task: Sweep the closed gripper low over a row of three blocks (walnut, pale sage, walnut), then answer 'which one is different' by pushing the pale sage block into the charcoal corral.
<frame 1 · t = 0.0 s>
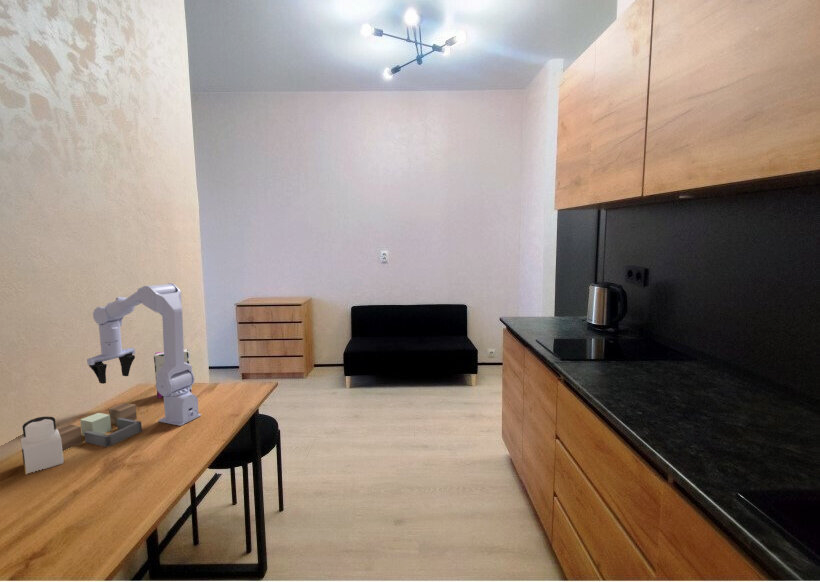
hand: (114, 379, 134), 10 cm above the table, tool pointing down, fingers open, 7 cm apart
walnut block 2: (123, 421, 124), on the table
white handled block: (43, 464, 100), on the table
sage block: (96, 433, 117), on the table
walnut block 1: (66, 446, 109), on the table
candy bar box: (175, 394, 148), on the table
corral: (114, 436, 114), on the table
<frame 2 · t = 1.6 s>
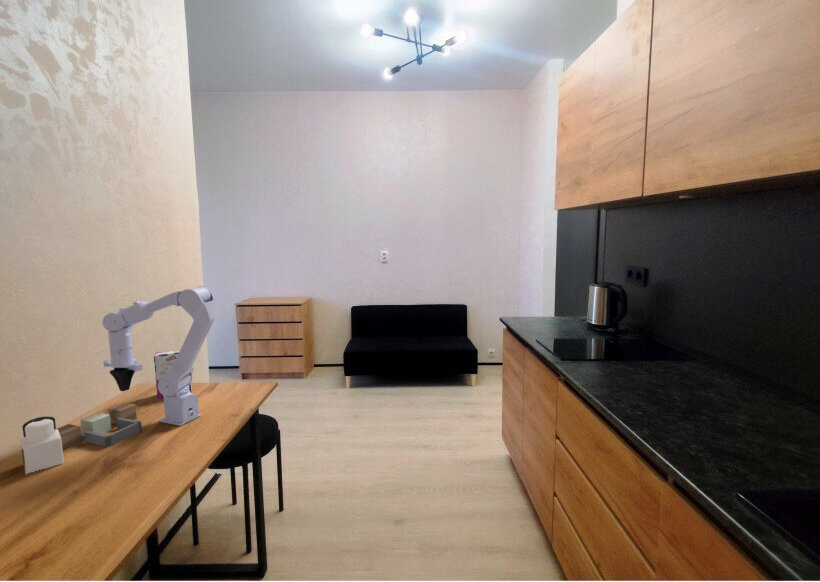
hand: (124, 390, 124), 10 cm above the table, tool pointing down, fingers closed
nothing on the table moved.
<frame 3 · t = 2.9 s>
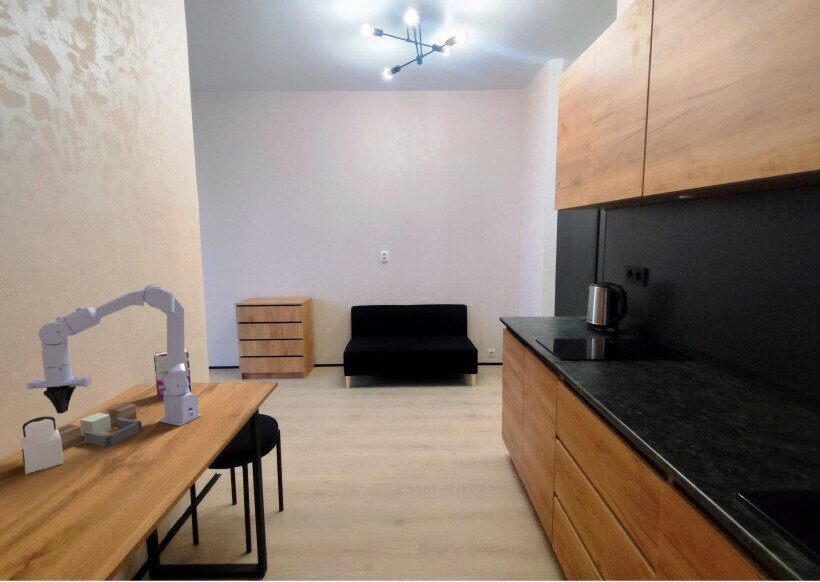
hand: (62, 412, 108), 10 cm above the table, tool pointing down, fingers closed
nothing on the table moved.
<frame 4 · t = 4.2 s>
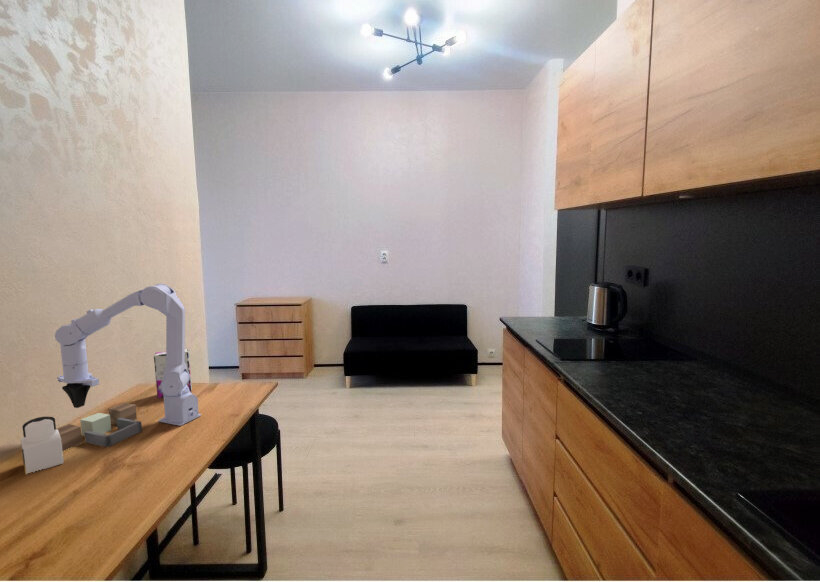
hand: (79, 406, 118), 7 cm above the table, tool pointing down, fingers closed
nothing on the table moved.
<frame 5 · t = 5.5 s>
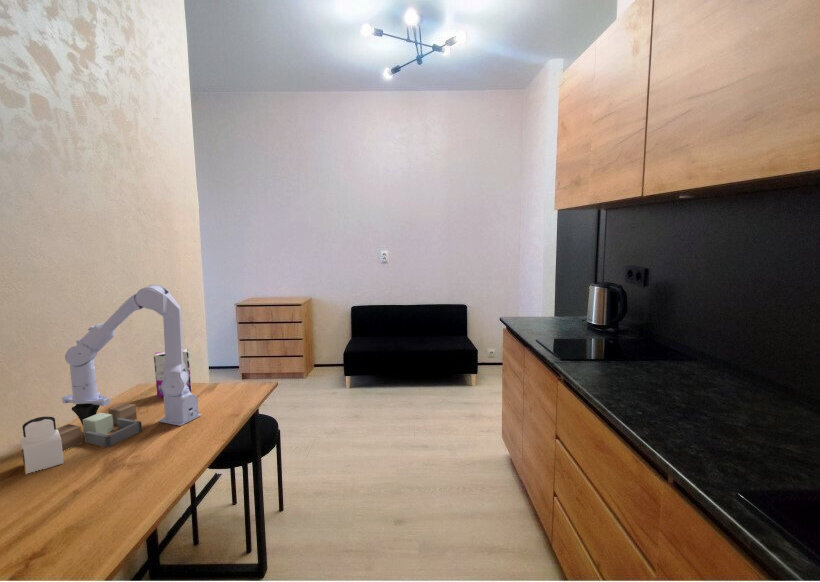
hand: (88, 426, 118), 1 cm above the table, tool pointing down, fingers closed
sage block: (99, 432, 117), on the table, touching gripper
everything else where it was.
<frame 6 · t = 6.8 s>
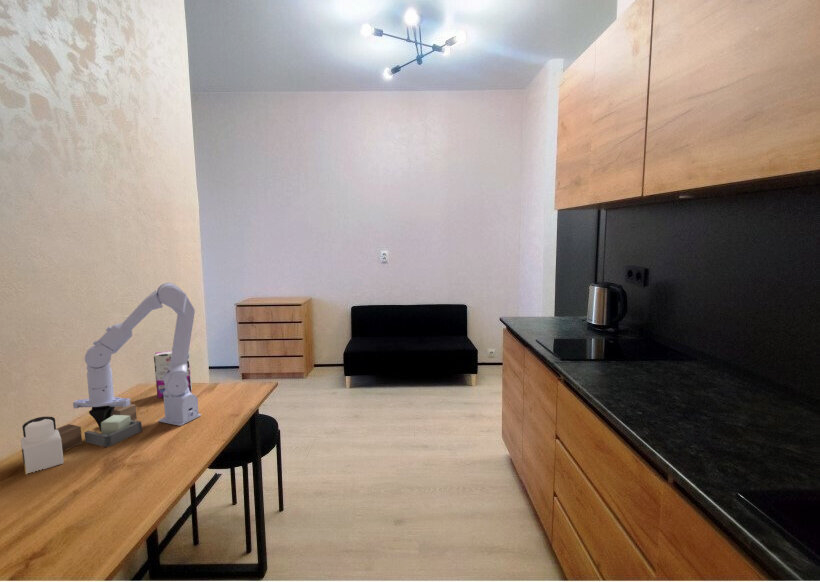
hand: (104, 430, 115), 2 cm above the table, tool pointing down, fingers closed
sage block: (116, 434, 115), resting in corral, touching gripper
everything else where it was.
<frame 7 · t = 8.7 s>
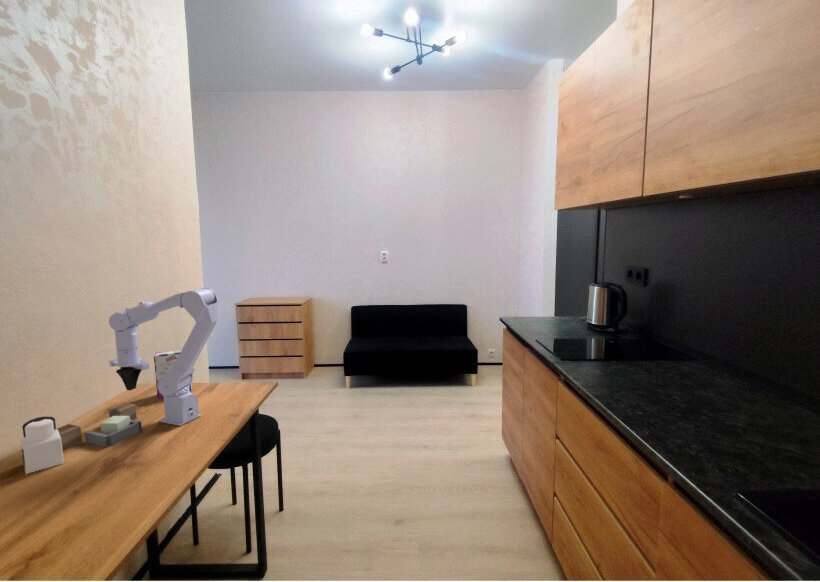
hand: (131, 389, 125), 10 cm above the table, tool pointing down, fingers closed
sage block: (116, 435, 115), resting in corral
everything else where it was.
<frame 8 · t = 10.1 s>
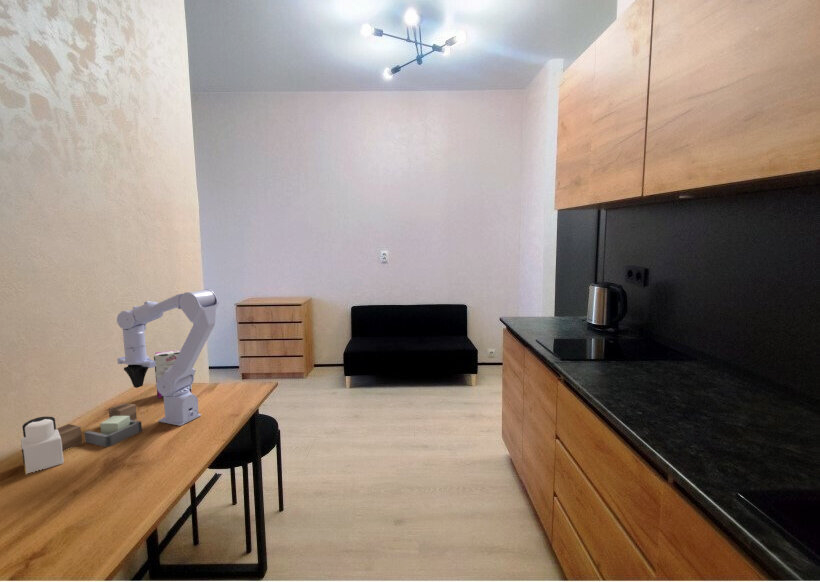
hand: (138, 386, 128), 10 cm above the table, tool pointing down, fingers closed
nothing on the table moved.
at the end: sage block 0.8 cm off-centre on the corral, point 0.0 cm above the corral's base; sage block tilted 0°; walnut block 1 moved 0.1 cm from its start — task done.
